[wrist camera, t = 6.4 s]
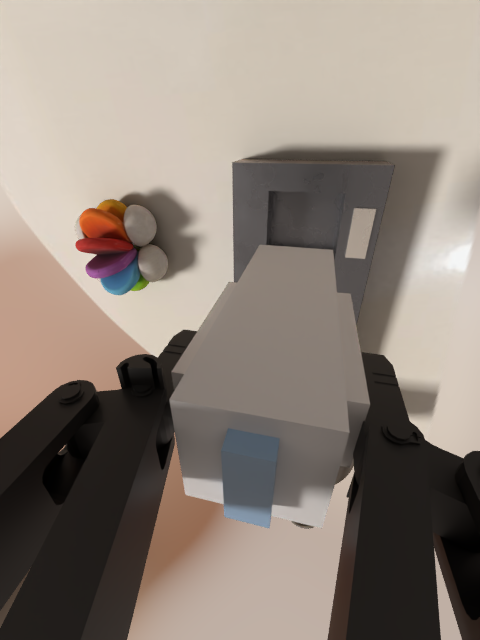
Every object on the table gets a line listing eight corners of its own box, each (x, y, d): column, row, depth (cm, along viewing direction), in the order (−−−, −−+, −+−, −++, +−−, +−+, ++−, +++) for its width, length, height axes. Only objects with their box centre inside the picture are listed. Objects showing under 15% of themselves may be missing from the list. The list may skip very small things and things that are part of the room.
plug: (259, 244, 17) (157, 419, 6) (333, 249, 16) (351, 458, 6) (257, 306, 19) (177, 515, 9) (322, 314, 18) (322, 553, 8)
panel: (242, 158, 27) (231, 162, 24) (385, 161, 25) (395, 165, 21) (242, 353, 39) (234, 373, 35) (339, 367, 36) (341, 390, 33)
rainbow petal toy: (152, 190, 30) (110, 204, 24) (178, 278, 35) (149, 309, 29) (84, 202, 33) (30, 218, 27) (117, 284, 38) (78, 313, 32)
